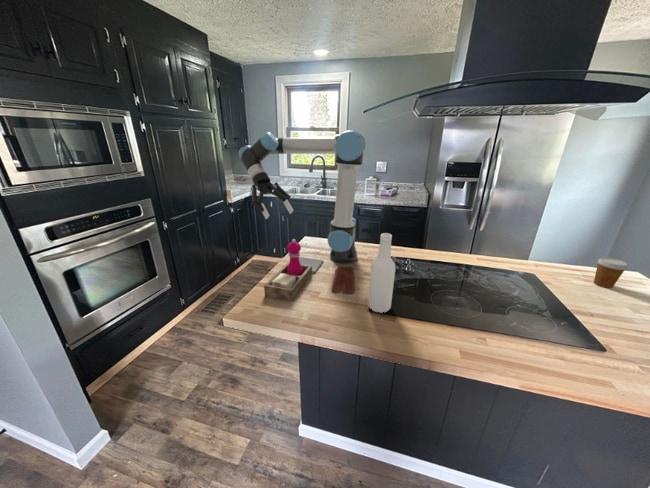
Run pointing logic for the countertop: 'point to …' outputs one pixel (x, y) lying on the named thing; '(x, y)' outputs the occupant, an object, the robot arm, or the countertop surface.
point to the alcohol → (382, 277)
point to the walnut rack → (287, 292)
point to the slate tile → (311, 263)
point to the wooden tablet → (344, 280)
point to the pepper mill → (294, 258)
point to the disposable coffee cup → (609, 271)
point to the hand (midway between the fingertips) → (280, 214)
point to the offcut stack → (284, 281)
